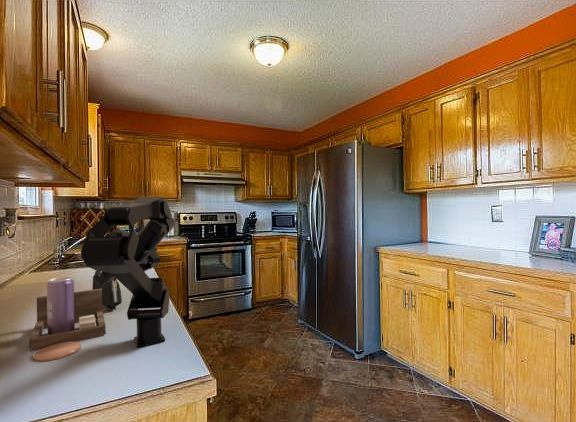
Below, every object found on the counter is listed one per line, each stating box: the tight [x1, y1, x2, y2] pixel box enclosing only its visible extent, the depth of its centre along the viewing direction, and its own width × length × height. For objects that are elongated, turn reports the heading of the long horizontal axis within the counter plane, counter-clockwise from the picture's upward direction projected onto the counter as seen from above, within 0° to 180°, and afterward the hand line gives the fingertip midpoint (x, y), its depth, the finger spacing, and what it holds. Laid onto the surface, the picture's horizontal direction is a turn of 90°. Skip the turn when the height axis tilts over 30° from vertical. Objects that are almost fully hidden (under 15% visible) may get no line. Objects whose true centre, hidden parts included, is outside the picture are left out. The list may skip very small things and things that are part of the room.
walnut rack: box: [28, 289, 107, 351], centre depth 86 cm, size 18×16×9 cm
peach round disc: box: [32, 341, 82, 362], centre depth 73 cm, size 9×9×1 cm
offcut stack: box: [78, 315, 97, 329], centre depth 87 cm, size 10×4×4 cm, turn 33°
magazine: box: [91, 270, 123, 310], centre depth 116 cm, size 17×3×30 cm
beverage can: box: [46, 276, 76, 335], centre depth 85 cm, size 6×6×15 cm
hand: (113, 281), depth 86 cm, fingers open, 9 cm apart
